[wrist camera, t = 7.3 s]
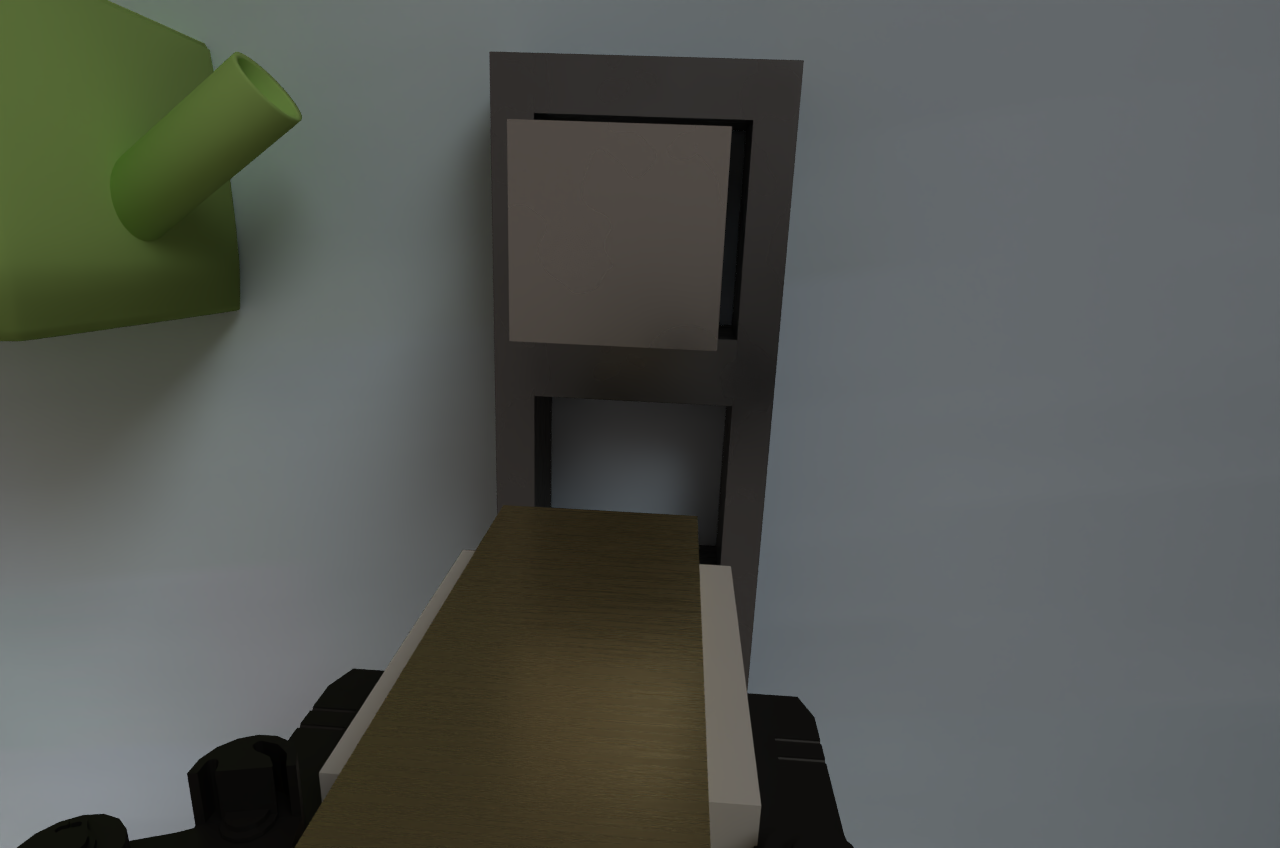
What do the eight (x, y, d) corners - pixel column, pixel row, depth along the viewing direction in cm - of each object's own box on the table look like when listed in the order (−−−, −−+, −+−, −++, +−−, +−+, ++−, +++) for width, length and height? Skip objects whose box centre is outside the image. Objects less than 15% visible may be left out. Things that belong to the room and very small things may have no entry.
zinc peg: (705, 296, 25) (716, 351, 15) (579, 290, 25) (509, 341, 15) (714, 161, 23) (732, 126, 14) (581, 156, 24) (506, 119, 14)
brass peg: (686, 684, 17) (688, 1290, 8) (506, 672, 17) (285, 1247, 8) (697, 515, 16) (715, 979, 6) (503, 505, 16) (238, 939, 7)
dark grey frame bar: (730, 767, 29) (734, 828, 27) (520, 751, 30) (502, 809, 27) (789, 79, 23) (803, 60, 20) (514, 71, 23) (489, 51, 20)
